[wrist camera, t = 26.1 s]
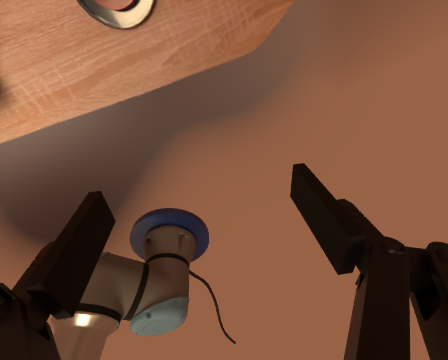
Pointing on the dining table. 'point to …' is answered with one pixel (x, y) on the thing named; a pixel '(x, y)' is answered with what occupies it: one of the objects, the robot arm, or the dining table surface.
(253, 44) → the dining table surface
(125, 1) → the lid
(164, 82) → the dining table surface
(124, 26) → the saucer
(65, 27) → the dining table surface
